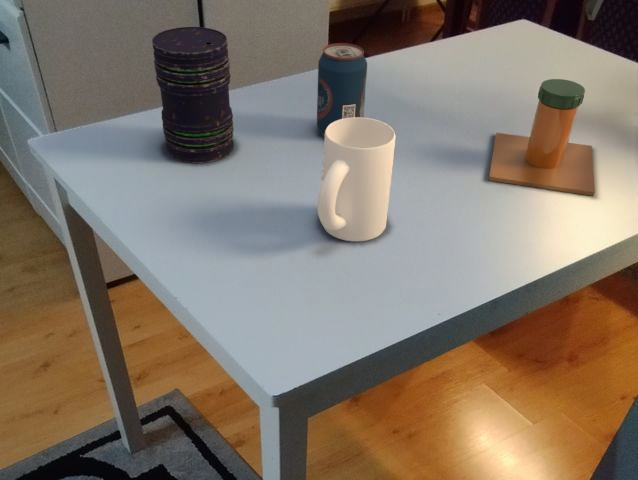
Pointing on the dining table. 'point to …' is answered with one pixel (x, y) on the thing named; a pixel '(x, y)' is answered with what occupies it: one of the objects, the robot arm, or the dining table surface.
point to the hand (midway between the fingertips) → (621, 23)
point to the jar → (549, 136)
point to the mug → (356, 178)
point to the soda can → (340, 84)
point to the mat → (566, 177)
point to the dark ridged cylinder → (194, 93)
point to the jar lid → (561, 93)
